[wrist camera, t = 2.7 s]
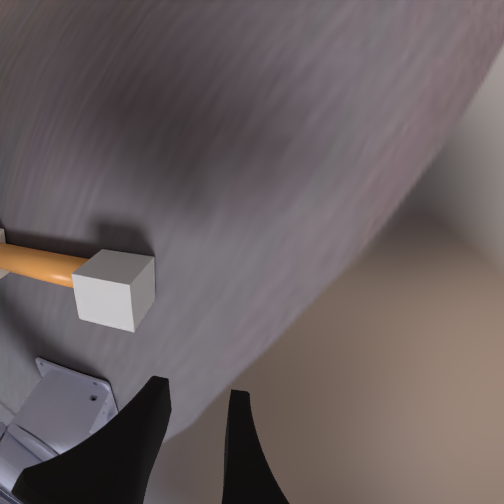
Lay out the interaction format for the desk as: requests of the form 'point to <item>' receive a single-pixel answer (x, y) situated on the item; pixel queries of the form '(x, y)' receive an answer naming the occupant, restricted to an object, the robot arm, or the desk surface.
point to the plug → (91, 281)
